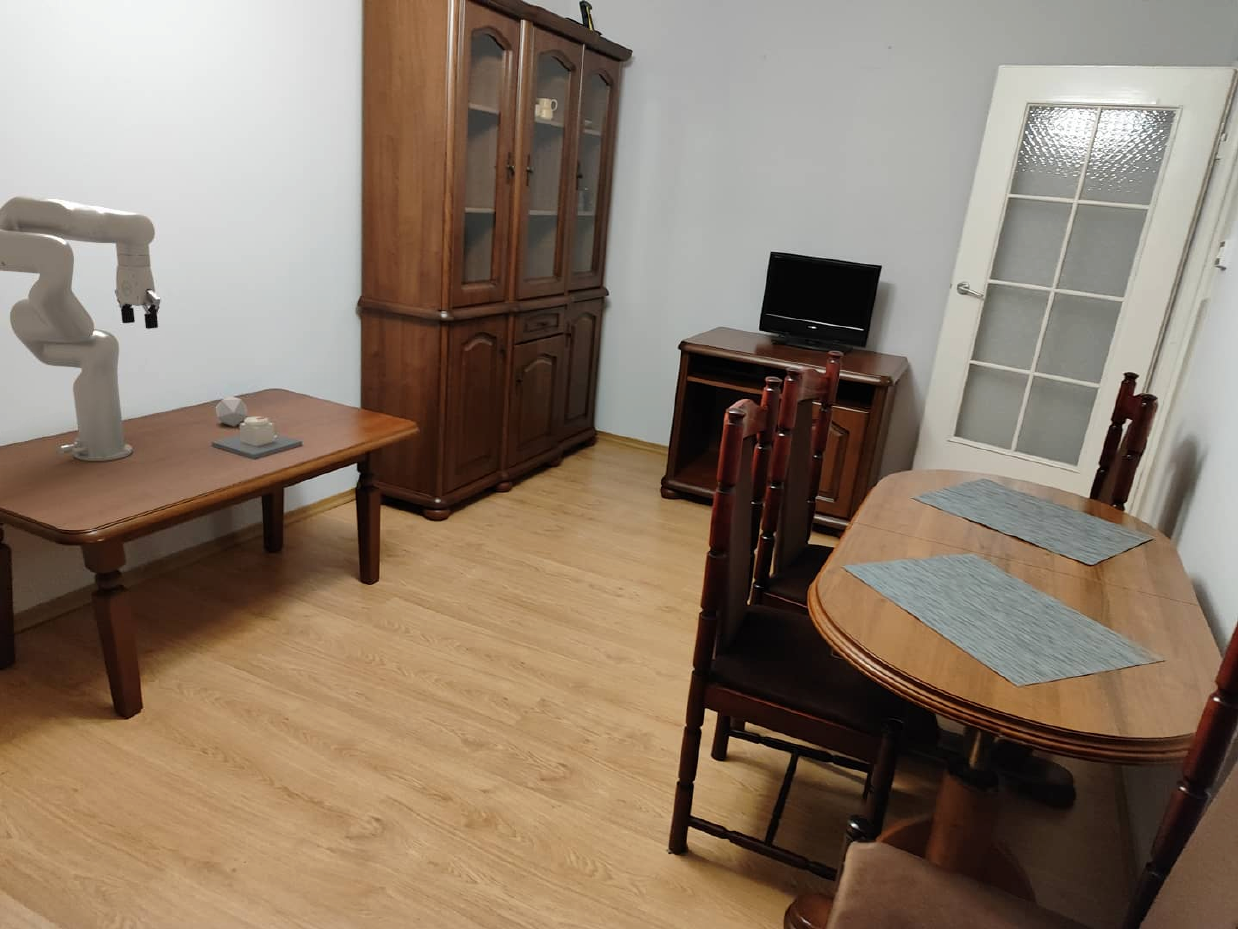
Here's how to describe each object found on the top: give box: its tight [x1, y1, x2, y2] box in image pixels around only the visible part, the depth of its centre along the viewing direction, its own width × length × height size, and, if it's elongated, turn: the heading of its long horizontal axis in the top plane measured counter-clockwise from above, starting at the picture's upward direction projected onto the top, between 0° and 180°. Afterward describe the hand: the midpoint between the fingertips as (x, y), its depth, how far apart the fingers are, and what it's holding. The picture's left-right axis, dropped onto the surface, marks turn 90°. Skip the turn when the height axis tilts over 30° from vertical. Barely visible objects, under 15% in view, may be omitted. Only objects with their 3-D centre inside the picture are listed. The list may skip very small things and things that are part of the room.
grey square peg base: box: [211, 432, 303, 460], centre depth 222 cm, size 16×16×5 cm
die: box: [215, 395, 249, 427], centre depth 238 cm, size 8×9×10 cm
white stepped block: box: [239, 416, 275, 446], centre depth 221 cm, size 6×6×6 cm
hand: (140, 325), depth 222 cm, fingers open, 9 cm apart
